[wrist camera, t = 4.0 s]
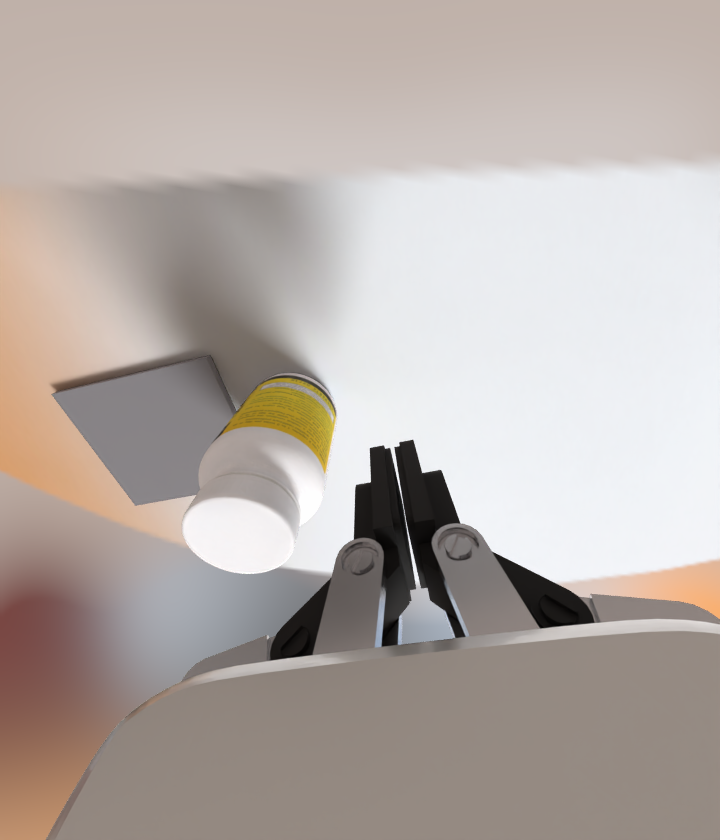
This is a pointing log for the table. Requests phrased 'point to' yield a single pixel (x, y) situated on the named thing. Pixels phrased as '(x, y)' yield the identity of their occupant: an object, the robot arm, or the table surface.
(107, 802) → the robot arm
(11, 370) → the table surface
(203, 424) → the mat
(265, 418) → the supplement bottle
